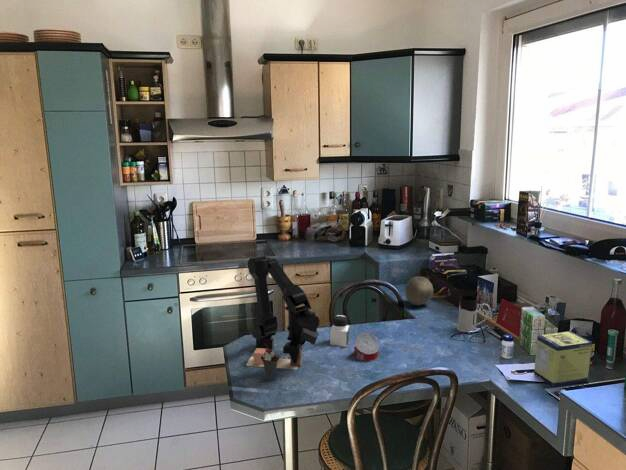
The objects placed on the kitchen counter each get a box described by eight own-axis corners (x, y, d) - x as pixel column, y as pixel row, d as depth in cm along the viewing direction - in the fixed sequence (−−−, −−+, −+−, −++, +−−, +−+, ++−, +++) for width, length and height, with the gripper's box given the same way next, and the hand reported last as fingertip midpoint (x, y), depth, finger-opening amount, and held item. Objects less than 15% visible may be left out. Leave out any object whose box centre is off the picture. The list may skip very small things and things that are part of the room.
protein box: (588, 381, 187) (593, 341, 184) (553, 387, 183) (557, 346, 180) (566, 368, 197) (571, 330, 194) (532, 374, 193) (536, 335, 190)
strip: (245, 367, 197) (245, 353, 196) (251, 358, 205) (251, 344, 204) (299, 371, 194) (299, 357, 193) (303, 362, 202) (303, 348, 200)
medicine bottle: (346, 347, 216) (347, 320, 213) (330, 346, 217) (330, 319, 215) (349, 340, 223) (349, 314, 220) (332, 339, 224) (333, 313, 222)
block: (253, 363, 198) (253, 352, 197) (257, 358, 203) (256, 348, 202) (265, 364, 198) (264, 353, 197) (268, 359, 202) (267, 348, 201)
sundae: (261, 379, 189) (260, 341, 185) (279, 378, 189) (279, 340, 186) (261, 388, 182) (260, 348, 179) (279, 387, 183) (279, 348, 180)
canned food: (375, 363, 212) (388, 344, 209) (367, 370, 203) (380, 351, 200) (353, 346, 216) (365, 327, 213) (344, 353, 207) (357, 333, 204)
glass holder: (460, 324, 241) (462, 293, 238) (491, 330, 233) (493, 299, 230) (453, 329, 234) (455, 298, 231) (485, 337, 226) (487, 304, 223)
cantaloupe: (404, 308, 261) (405, 280, 258) (404, 299, 275) (405, 272, 272) (433, 310, 259) (434, 282, 256) (431, 301, 273) (433, 274, 269)
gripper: (312, 334, 184) (312, 374, 187) (320, 315, 202) (320, 352, 205) (282, 332, 186) (283, 371, 189) (292, 313, 204) (293, 350, 207)
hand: (296, 361), depth 198 cm, fingers closed on strip, 3 cm apart
